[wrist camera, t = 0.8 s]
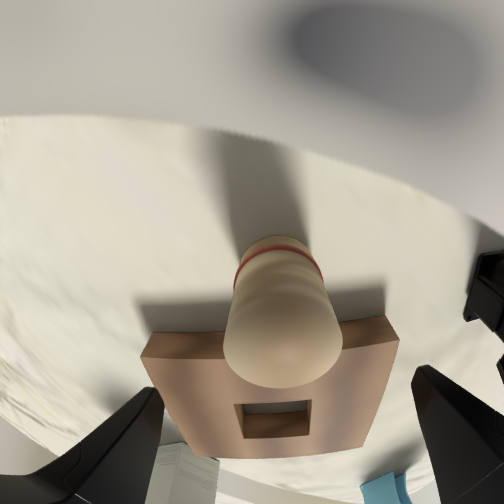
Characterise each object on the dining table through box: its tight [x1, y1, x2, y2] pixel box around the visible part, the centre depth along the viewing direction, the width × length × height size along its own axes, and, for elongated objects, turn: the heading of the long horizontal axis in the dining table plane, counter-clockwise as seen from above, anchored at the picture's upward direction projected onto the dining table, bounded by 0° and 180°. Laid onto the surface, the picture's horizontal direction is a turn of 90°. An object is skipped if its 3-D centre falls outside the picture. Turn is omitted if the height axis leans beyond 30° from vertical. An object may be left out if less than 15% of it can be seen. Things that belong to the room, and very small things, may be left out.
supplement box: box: [145, 442, 220, 504], centre depth 23 cm, size 7×7×13 cm
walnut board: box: [140, 316, 400, 459], centre depth 21 cm, size 18×16×3 cm
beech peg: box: [223, 236, 343, 388], centre depth 14 cm, size 5×5×8 cm
